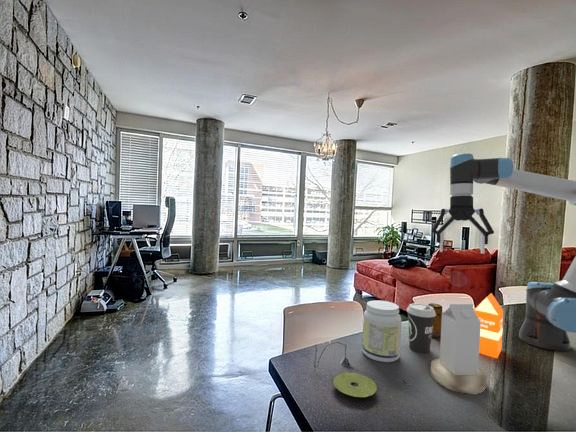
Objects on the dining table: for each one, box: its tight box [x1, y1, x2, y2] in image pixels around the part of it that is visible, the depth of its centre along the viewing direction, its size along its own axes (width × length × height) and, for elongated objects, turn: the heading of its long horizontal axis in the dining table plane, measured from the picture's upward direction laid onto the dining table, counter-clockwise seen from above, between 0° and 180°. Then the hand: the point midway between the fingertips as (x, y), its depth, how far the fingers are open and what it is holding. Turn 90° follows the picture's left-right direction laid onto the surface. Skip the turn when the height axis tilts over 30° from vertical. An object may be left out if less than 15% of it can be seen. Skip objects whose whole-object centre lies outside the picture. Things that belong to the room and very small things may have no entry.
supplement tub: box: [362, 299, 402, 363], centre depth 102 cm, size 12×12×17 cm
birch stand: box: [430, 357, 487, 395], centre depth 88 cm, size 14×14×3 cm
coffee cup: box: [406, 302, 436, 354], centre depth 108 cm, size 10×10×15 cm
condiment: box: [427, 303, 443, 341], centre depth 120 cm, size 7×8×12 cm
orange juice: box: [473, 292, 504, 359], centre depth 108 cm, size 8×9×20 cm
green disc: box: [332, 372, 378, 398], centre depth 81 cm, size 11×11×2 cm
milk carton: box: [439, 303, 481, 375], centre depth 88 cm, size 7×7×19 cm
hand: (461, 252), depth 114 cm, fingers open, 13 cm apart
